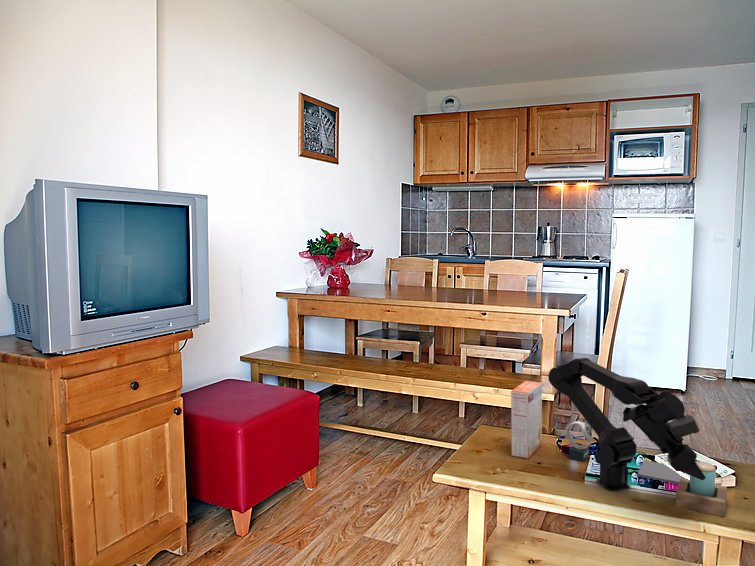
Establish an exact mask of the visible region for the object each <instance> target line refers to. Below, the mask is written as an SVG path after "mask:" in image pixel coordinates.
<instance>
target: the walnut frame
mask: <svg viewBox="0 0 755 566" xmlns="http://www.w3.org/2000/svg"><path fill="white" fill-rule="evenodd" d="M689 488H690V480H688V479H682V478H681V479H680V482H679V485H677V490H676V493H675V507H676V508H681V509H687V510H691V511H695V512H700V513H704V514H709V515H714V516H717V517H718V516H719V517H723V518H725V517H726V508H727V507H726V506H727V494H728V493H727V492H728V491H727V490H728V489H727V488H728V487H727V486H723V485H721V486H719V485H715V496H714V498H713V497H709V496H704V495H699V494H694V493H689Z"/></svg>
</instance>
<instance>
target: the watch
mask: <svg viewBox="0 0 755 566" xmlns="http://www.w3.org/2000/svg"><path fill="white" fill-rule="evenodd" d="M573 425H578V426H579V428H580V429H581V430H580V431H581V434H582V435H583V437H584V438H585V440H587V443H588V444H587V445H582V444H577V443H575V440H574V438H573V436H572V434H571V431H570V427H571V426H573ZM565 437H566V440H567V442H568V443H569V445H570V447H569V448H568V460H572V461H577V462H581V463H582V462H583V463H584V462H585V460H587V459H588V458H589V453H590V451H589V449H590V448H589V447H590V445H591V444H592V442H593V440H594V437H595V436H594V432H593V429H592V427H591V426H590V425H589V423H585V422H583V421H579V420H576V421H573V422H571V423H569V425H567V427H566V429H565Z"/></svg>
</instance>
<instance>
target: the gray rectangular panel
mask: <svg viewBox="0 0 755 566" xmlns="http://www.w3.org/2000/svg"><path fill="white" fill-rule="evenodd" d="M664 464H665V463H662V462H658V461H657V462H655V461H652V460H651V461H650V460H645V459H643V462H642V464H641V466H640V468H639V470H638V472H637V478H638V477H642V478H641V479H643V478H648V479H653V480H659V481H663V482H670V483H675V484H679V482H680V479H681V478H682V479H685V478H684V477H682V476H680V475H679V474H678V473H676V472H675V471H673V470H672V469H670V468H669V467H667V466H666V465H664ZM648 479H647V480H648ZM653 480H652V481H653ZM663 482H662V483H663ZM720 484H721V485H722V483H716V484H715V485H719V486H720Z"/></svg>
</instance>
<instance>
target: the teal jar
mask: <svg viewBox="0 0 755 566" xmlns="http://www.w3.org/2000/svg"><path fill="white" fill-rule="evenodd" d="M695 462H696V464H697V465H698V467H699V468H700V470H701V471H702V472H703V474H704V475H705V477H706V478H705V479H704V480H700V479H698V478H696V477H693V476H691V475H690V488H689V493H694V494H699V495H704V496H709V497H713V498H714V496H715V478H716V473H717V470H716V468H715V465H714V464H712V463H710V462H706V461H701V460H700V461H698V460H696V461H695Z"/></svg>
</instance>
